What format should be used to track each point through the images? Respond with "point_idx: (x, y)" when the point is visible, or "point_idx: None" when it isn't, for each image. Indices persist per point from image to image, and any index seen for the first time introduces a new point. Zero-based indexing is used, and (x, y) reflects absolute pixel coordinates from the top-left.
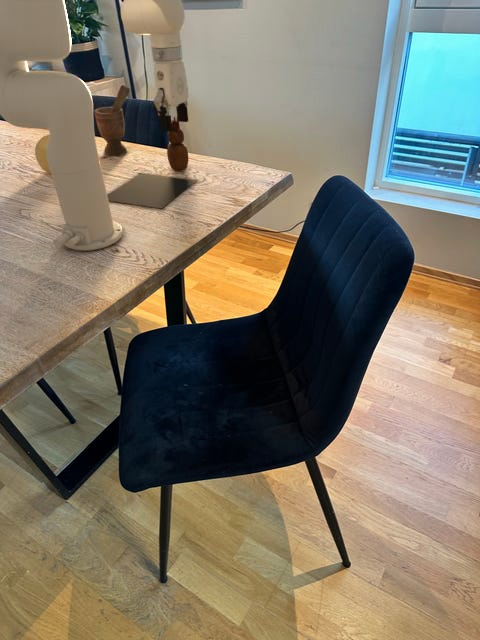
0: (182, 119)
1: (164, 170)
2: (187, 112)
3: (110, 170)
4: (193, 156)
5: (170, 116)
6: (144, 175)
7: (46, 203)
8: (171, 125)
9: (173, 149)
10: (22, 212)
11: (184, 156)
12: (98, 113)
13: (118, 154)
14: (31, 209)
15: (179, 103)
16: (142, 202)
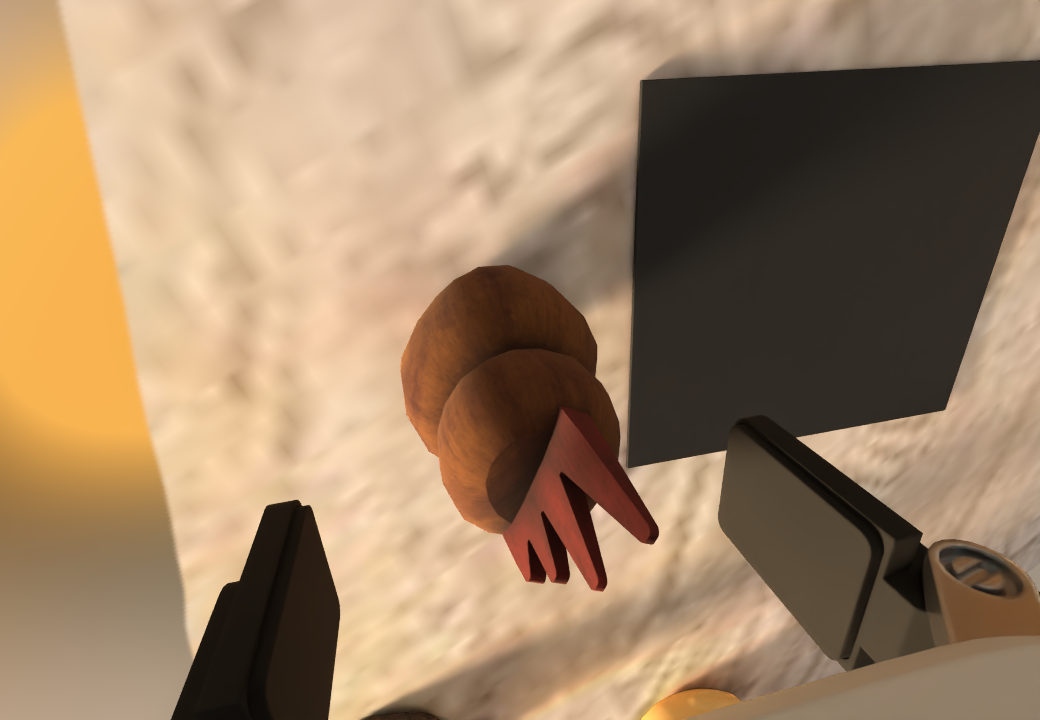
0: (318, 575)
1: None
2: (238, 604)
3: (618, 605)
4: (176, 394)
5: (891, 527)
6: (649, 433)
7: (962, 540)
8: (797, 446)
9: (593, 370)
10: (1025, 542)
11: (537, 279)
12: None
13: (428, 716)
14: (1006, 539)
15: (842, 692)
16: (984, 212)
